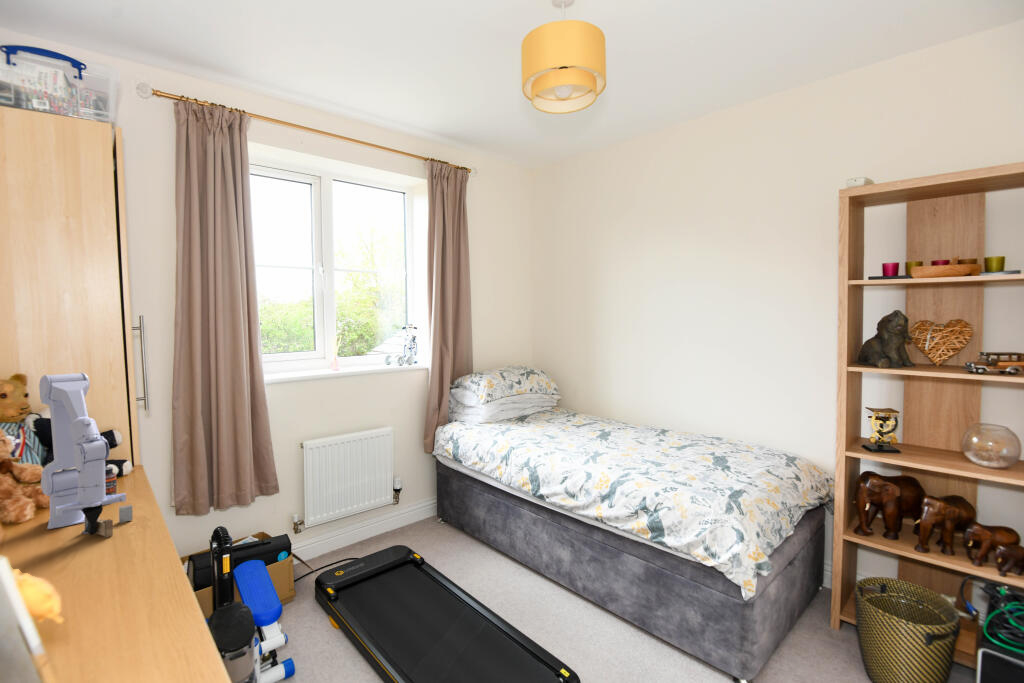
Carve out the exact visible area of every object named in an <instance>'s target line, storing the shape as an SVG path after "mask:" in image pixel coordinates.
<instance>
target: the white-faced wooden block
mask: <svg viewBox="0 0 1024 683" xmlns="http://www.w3.org/2000/svg"><path fill="white" fill-rule="evenodd" d="M118 518H119V521H118V523H119V524H123V523H122V522H125V523H127V522H126V521H130V520H132V521H133V504H128V505H122V506H119V507H118ZM130 522H131V521H130Z"/></svg>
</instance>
